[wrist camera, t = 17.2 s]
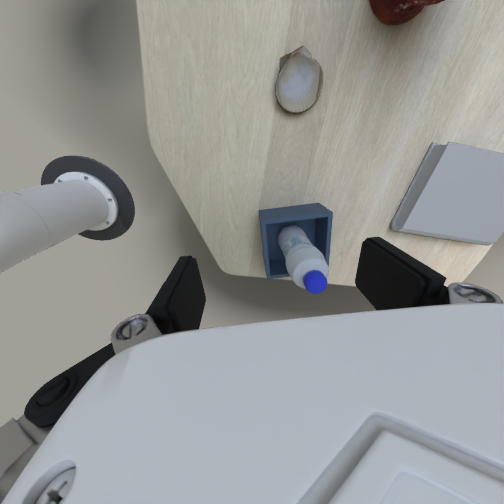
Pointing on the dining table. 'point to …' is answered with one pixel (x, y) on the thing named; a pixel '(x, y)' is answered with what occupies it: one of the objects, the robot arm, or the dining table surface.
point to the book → (455, 196)
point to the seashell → (298, 81)
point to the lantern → (399, 9)
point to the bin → (304, 216)
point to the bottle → (303, 259)
